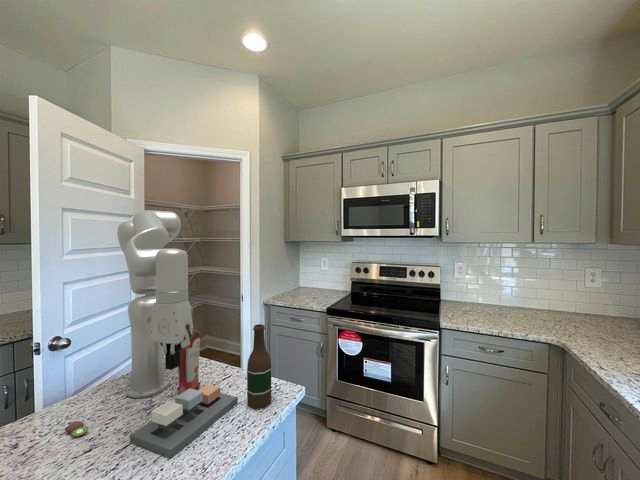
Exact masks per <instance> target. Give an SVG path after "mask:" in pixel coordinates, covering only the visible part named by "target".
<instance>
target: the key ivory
mask: <svg viewBox="0 0 640 480" xmlns="http://www.w3.org/2000/svg"><path fill="white" fill-rule="evenodd" d="M181 415H183V405H181V404H178V403H175V401H170V400H168V401H166V402H164V403H163V404H161V405H160V406H158V407H156V408H155V409H154V410H152V411H151V421H152V422H155V423H158V428H160V429H163V430H166V431H167V430H168V429H170V428H171V427H173V426H174V425H175V424H177V418H178V417H180V416H181Z"/></svg>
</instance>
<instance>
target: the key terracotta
mask: <svg viewBox="0 0 640 480" xmlns="http://www.w3.org/2000/svg"><path fill="white" fill-rule="evenodd" d="M197 390H198V391H202V392H203V401H202V402H200V406H203V407H207V408H209V407H210V406H212V405H213V404H214V403H215V399H216V398H217V397H219V396H220V393H221V387H220V386H218V385H212V384H209V383H208V384H205V385H204V386H202V387H200V388H198V389H197Z"/></svg>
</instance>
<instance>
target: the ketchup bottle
mask: <svg viewBox="0 0 640 480" xmlns="http://www.w3.org/2000/svg"><path fill="white" fill-rule="evenodd" d="M190 308H191V314H192V315H193V313H194V312H193V311H194V309H193V308H194V307H193V306H191V305H190ZM200 347H201V332H200V331H199V330H198V329H197V330H196V329H194V324H193V321H192V338H191V339H190V346H188V347H185V348H182V351H180V366H178V367H177V371H178V372H177V373H178V387H177V392H179V394H181V393H183V392H184V391H186V390H188V389H189V388H190V389H194V390H199V389H200V386H201V384H200V382H199V373H200V371H199V370H200V369H199V368H200Z"/></svg>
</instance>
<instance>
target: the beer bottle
mask: <svg viewBox="0 0 640 480" xmlns="http://www.w3.org/2000/svg"><path fill="white" fill-rule="evenodd" d="M252 330H253V348H252V352H251V353H250V355H249V357H248V360H247V367H246V372H247V373H246V376H247V378H246V387H247V388H246V391H247V397H246V400H247V407H249V408H251V409H253V410H260V409H261V410H262V409H265V408H267V407H268V406H269V405H271V403H272V361H271V357H270V354H269V352H268V351H267V349H266V343H265V341H266V340H265V330H266V327H265V324H261V323H259V324H258V323H257V324H255V325H254V326H253V328H252Z"/></svg>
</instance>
